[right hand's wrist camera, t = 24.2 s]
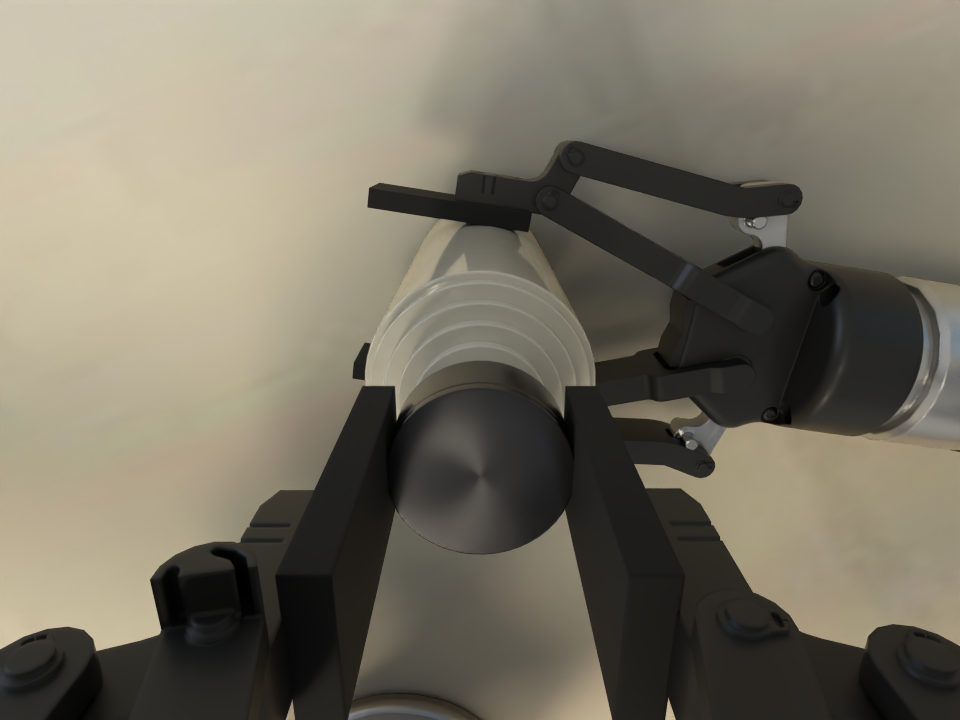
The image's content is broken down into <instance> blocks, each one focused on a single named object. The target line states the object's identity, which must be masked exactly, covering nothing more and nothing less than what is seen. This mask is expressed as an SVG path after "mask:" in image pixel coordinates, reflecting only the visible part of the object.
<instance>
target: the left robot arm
mask: <svg viewBox="0 0 960 720" xmlns="http://www.w3.org/2000/svg"><path fill="white" fill-rule="evenodd" d="M580 176H583V177H587V178H590V179H594V180H598V181H601V182H605V183H609V184H612V185H616V186H619V187H623V188H627V189H630V190H634V191H638V192H641V193H645V194H648V195H652V196H656V197H659V198H663V199H667V200H670V201H674V202H677V203H681V204H685V205H688V206H692V207H696V208H699V209H703V210H706V211H710V212H714V213H717V214H721V215H725V216H730V223H731V225H732V227H733V228H734V229H736V230H738V231H740V232H743V233H746V234H750V236H751V237H752V239H753V243H754V245H752V246H750V247H748V248H746V249H744V250H742V251H740V252H738V253H736V254H734V255H732V256H729V257H727V258H725V259H723V260H721V261H719V262H717V263H715V264H713V265H711V266H709V267H707V268H704V269H701V268H699V267H697V266H695V265H694V264H692V263H690V262H688V261H687V260H685V259H683V258H681V257H680V256H678V255H676V254H674V253H673V252H671V251H669V250H667V249H665V248H664V247H662V246H660V245H658V244H657V243H655V242H653V241H651V240H650V239H648V238H646V237H644V236H643V235H641V234H639V233H637V232H636V231H634V230H632V229H630V228H629V227H627V226H625V225H623V224H622V223H620V222H618V221H616V220H615V219H613V218H611V217H609V216H608V215H606V214H604V213H602V212H601V211H599V210H597V209H595V208H594V207H592V206H590V205H588V204H587V203H585V202H583V201H581V200H580V199H578V198H576V197H574V196H573V195H571V194H570V193H571V191H572V190H573V188H574V186H575V184H576V183H577V181H578V179H579V177H580ZM801 202H802V192H801V190H800V188H799V187H797V186H796V185H793V184H787V183H782V182H776V181H769V180H754V181H744V182H734V183H725V182H722V181H718V180H715V179H711V178H708V177H704V176H701V175H697V174H693V173H690V172H686V171H683V170H679V169H676V168H672V167H669V166H665V165H661V164H658V163H654V162H651V161H647V160H644V159H640V158H636V157H633V156H629V155H626V154H622V153H619V152H615V151H612V150H608V149H604V148H601V147H597V146H594V145H590V144H587V143H583V142H577V141H564V142H561V143H560V144H559V145H558V146H557V147H556V149H555V151H554V155H553V157H552V158H551V160H550V162H549V164H548V165H547V167H546V169H545V170H544V172H543V173H542V174H541V175H540V176H538V177H536V178H533V179H522V178H516V177H510V176H504V175H497V174H491V173H485V172H479V171H472V170H471V171H467V172H463V173H459V175H458V179H457V187H456V194H455V195H454V194H447V193H441V192H435V191H428V190H422V189H416V188H409V187H403V186H397V185H390V184H384V183H378V184H376V185H374V186H372V187H370V188H369V196H368V208H375V209H381V210H388V211H394V212H400V213H407V214H413V215H420V216H426V217H433V218H439V219H445V220H452V221H458V222H465V223H471V224H478V225H484V226H492V227H497V228H503V229H510V230H516V231H523V232H529V226H530V221H531V215H532V213H535V214H541V215H543V216H545V217H547V218H549V219H550V220H552V221H554V222H556V223H558V224H559V225H561V226H563V227H565V228H566V229H568V230H570V231H572V232H574V233H575V234H577V235H579V236H581V237H582V238H584V239H586V240H588V241H590V242H591V243H593V244H595V245H597V246H599V247H600V248H602V249H604V250H606V251H607V252H609V253H611V254H613V255H615V256H616V257H618V258H620V259H622V260H624V261H625V262H627V263H629V264H631V265H632V266H634V267H636V268H638V269H640V270H641V271H643V272H645V273H647V274H648V275H650V276H652V277H654V278H656V279H657V280H659V281H661V282H663V283H665V284H666V285H668V286H670V287H671V288H673V289H674V290H673V294H672V297H671V301H670V321H669V323H668V325H667V327H666V328H665V330H664V332H663V334H662V336H661V338H660V342H659V346H658V348H653V349H647V350H642V351H639V352H637V353H636V354H635V355H633V356H630V357H624V358H619V359H613V360H608V361H602V362H597V363H595V370H596V385H595V386H598V388H599V390H600V392H601V394H602V396H603V398H604V400H605V403H606V405H607V406H611V405H617V404H623V403H628V402H634V401H640V400H646V399H651V400H654V401H660V402H662V401H669V400H675V399H681V398H686V397H689V398H690V399H691V400H692V401H693V402H694V403H695V404H696V405H697V406H698V407H699V408H700V409H701V410H702V412H701V414H700V415H698V416H697V417H695V418H692V419H686V418H678V417H677V418H674V419H672V421H671V424H668V423H665V422H662V421H657V420H650V419H635V418H613V420H614V422H615V424H616V426H617V429H618V431H619V433H620V435H621V437H622V439H623V442H624V444H625V446H626V448H627V450H628V452H629V454H630V457H631V459H632V461H633V463H634V464H650V465H665V466H668V467H671V468H673V469H676V470H678V471H681V472H684V473H686V474H689V475H691V476H694V477H698V478H704V477H707V476H709V475H710V474H711V473H712V472H713V471H714V468H715V462H714V461H713V459H712V457H711V456H710V453H711V452H712V450H713V448H714V447H715V445H716V444H717V442H718V440H719V439H720V437H721V436H722V434H723V432H724V431H725V429H726V428H734V427H738V426H741V425H744V424H748V423H753V422H764V423H769V424H773V425H777V426H782V427H788V428H795V429H802V430H809V431H817V432H824V433H831V434H838V435H845V436H863V437H865V438H868V439H870V440H878V441H886V442H893V443H901V444H909V445H916V446H924V447H932V448H940V449H947V450H952V451H958V452H960V285H954V284H948V283H942V282H936V281H930V280H924V279H918V278H911V277H905V276H900V277H894V276H892V275H889V274H887V273H882V272H877V271H870V270H864V269H857V268H851V267H844V266H838V265H832V264H825V263H819V262H812V261H806V260H803V259H801V258H800V257H799V256H798V255H797V254H796V253H794V252H793V251H792V250H790V249H788V248H786V239H787V227H788V214H791V213H793V212H794V211H796V210H797V209H798V208H799V206H800V205H801ZM370 345H371V344H370V343H364V345H363V347H362V349H361V351H360V352H359V354H358V356H357V358H356V360H355V362H354V368H353V379H360V380H365V368H366V361H367V355H368V352H369V348H370ZM348 720H478V719H477V718H476V717H474V716H473V715H471V714H470V713H468V712H466V711H465V710H463V709H461V708H459V707H457V706H455V705H453V704H450V703H448V702H445V701H442V700H439V699H435V698H431V697H427V696H421V695H414V694H382V695H375V696H370V697H365V698H361V699H358V700H355V701H352V704H351V708H350V713H349V717H348Z"/></svg>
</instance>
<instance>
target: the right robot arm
mask: <svg viewBox="0 0 960 720" xmlns="http://www.w3.org/2000/svg"><path fill="white" fill-rule="evenodd" d="M396 422H397V415H396V395H395V386H362V388H361V391H360V393H359V395H358V397H357V399H356V401H355V403H354V406H353V408H352V410H351V412H350V414H349V416H348V419H347V421H346V423H345V425H344V427H343V429H342V432H341V434H340V436H339V438H338V440H337V442H336V445H335V447H334V449H333V451H332V453H331V455H330V458H329V460H328V462H327V464H326V466H325V468H324V470H323V473H322V475H321V477H320V479H319V481H318V483H317V486H316V488H315V490H280V491H279V492H278V493H276V494H275V495H274V496H272V497H271V498H270V499H268V500H267V501H266V502H265V503H263V504H262V505H261V506H260V507H259V509H258V511H257V512H256V514H255V516H254V517H253V519H252V521H251V522H250V527H248V528H247V529H246V531H245V533H244V534H243V536H242V538H241V542H240V543H235V542H212V543H207V544H203V545H199V546H194V547H192V548H190V549H188V550H185V551H183V552H181V553H178V554H176V555H175V556H173V557H172V558H170V559H169V560H168V561H166V562H165V563H164V564H162V565H161V566H160V567H159V568H158V569H157V571H156V572H155V574H154V575H153V576H152V578H151V579H150V582H151V586H152V591H153V595H154V599H155V604H156V608H157V612H158V617H159V621H160V626H161V633H160V634H159V635H157V636H154V637H151V638H148V639H145V640H141V641H138V642H133V643H129V644H125V645H121V646H116V647H112V648H108V649H104V650H100V651H96V648H95V645H94V641H93V638H91V637H90V636H89V635H88V634H87V633H86V632H85V631H84V630H81V629H76V628H71V627H62V628H52V629H46V630H43V631H40V632H37V633H34V634H31V635H28V636H25V637H23V638H21V639H19V640H17V641H15V642H13V643H11V644H10V645H8V646H6V647H4V648H2V649H1V650H0V720H286V717H287V714H288V711H289V708H290V705H291V702H292V699H293V706H294V713H295V720H348V717H349V713H350V708H351V704H352V700H353V695H354V691H355V686H356V682H357V677H358V673H359V668H360V664H361V659H362V655H363V651H364V646H365V642H366V637H367V633H368V628H369V624H370V619H371V615H372V610H373V606H374V602H375V597H376V593H377V588H378V584H379V579H380V575H381V570H382V566H383V562H384V557H385V553H386V548H387V544H388V539H389V535H390V530H391V526H392V521H393V517H394V513H395V506H394V504H393V502H392V500H391V498H390V495H389V492H388V479H387V454H388V450H389V446H390V443H391V439H392V436H393V433H394V429H395V426H396ZM564 422H565V426H566V429H567V432H568V436H569V439H570V443H571V446H572V449H573V454H574V469H573V486H572V495H571V497H570V500H569V502H568V504H567V506H566V508H565V511H566V515H567V520H568V524H569V529H570V533H571V538H572V542H573V546H574V551H575V555H576V560H577V564H578V569H579V573H580V578H581V582H582V587H583V591H584V595H585V600H586V604H587V609H588V613H589V618H590V622H591V627H592V631H593V635H594V640H595V644H596V649H597V653H598V658H599V662H600V667H601V671H602V676H603V680H604V684H605V689H606V693H607V698H608V702H609V707H610V711H611V716H612V720H665V716H666V709H667V702H668V698H669V701H670V704H671V707H672V710H673V713H674V716H675V719H676V720H960V646H958V645H957V644H955V643H953V642H951V641H949V640H947V639H945V638H944V637H942V636H940V635H938V634H935V633H932V632H929V631H926V630H923V629H920V628H917V627H914V626H904V625H895V624H892V625H887V626H883V627H878V628H876V629H875V630H874V631H873V632H872V633H871V634H870V635H869V636H868V639H867V643H866V646H865V649H863V648H859V647H855V646H850V645H846V644H842V643H838V642H834V641H829V640H825V639H821V638H818V637H814V636H811V635H808V634H805V633H802V632H800V631H799V629H798V628H797V626H796V624H795V623H794V621H793V620H792V618H791V617H790V615H789V614H788V613H786V612H785V611H784V610H783V609H782V608H780V607H779V606H778V605H777V604H776V603H774V602H772V601H770V600H768V599H766V598H764V597H762V596H760V595H758V594H756V593H753V592H752V590H751V588H750V587H749V585H748V583H747V582H746V580H745V578H744V577H743V575H742V573H741V572H740V570H739V568H738V566H737V565H736V563H735V561H734V560H733V558H732V556H731V555H730V553H729V551H728V550H727V548H726V546H725V545H724V543H723V541H720V536H719V534H718V533H717V531H716V529H715V528H714V526H713V525H711V521H710V519H709V518H708V516H707V514H706V512H705V511H704V509H703V507H702V506H701V504H700V503H699V502H697V501H696V500H695V499H693V498H692V497H691V496H689V495H688V494H687V493H686V492H684V491H683V490H682V489H645V487H644V485H643V483H642V480H641V478H640V476H639V474H638V472H637V470H636V467H635V465H634V463H633V461H632V459H631V457H630V454H629V452H628V450H627V448H626V446H625V444H624V442H623V439H622V437H621V435H620V433H619V431H618V429H617V426H616V424H615V422H614V420H613V418H612V416H611V413H610V411H609V409H608V407H607V405H606V403H605V400H604V398H603V396H602V394H601V392H600V390H599V388H598V386H565V403H564Z"/></svg>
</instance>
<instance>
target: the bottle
mask: <svg viewBox="0 0 960 720" xmlns="http://www.w3.org/2000/svg"><path fill="white" fill-rule="evenodd" d="M468 361H493V362H500V363H503V364H507V365H511V366H513V367H516V368H518V369H520V370H523V371H524V372H526V373H528V374H530V375H531V376H533V377H534V378H535V379H537V380H538V381H539V382H540V383H541V384H542V385H543V386H544V387H545V388H546V389H547V390H548V391H549V392H550V393H551V395H552V396H553V397H554V399H555V401H556V402H557V404H558V406H559V408H560V410H561V413H562V416H563V419H564V403H565V386H595V385H596V370H595V363H594V356H593V353H592V349H591V346H590V343H589V340H588V338H587V336H586V334H585V332H584V329H583V327H582V326H581V324H580V322H579V320H578V318H577V316H576V314H575V312H574V310H573V308H572V307H571V305H570V303H569V301H568V299H567V297H566V295H565V293H564V291H563V289H562V288H561V286H560V284H559V282H558V280H557V278H556V276H555V274H554V272H553V270H552V269H551V267H550V265H549V263H548V261H547V259H546V257H545V255H544V253H543V252H542V250H541V248H540V246H539V244H538V242H537V240H536V238H535V237H534V235H533V233H532V232H531V230H530V229H529V232H523V231H516V230H510V229H503V228H497V227H492V226H484V225H478V224H471V223H465V222H458V221H452V220H445V219H440V220H439V221H438V222H437V223H436V224H435V225H434V226H433V227H432V228H431V230H430V231H429V232H428V234H427V235H426V237H425V239H424V241H423V243H422V245H421V246H420V248H419V250H418V252H417V254H416V256H415V258H414V260H413V262H412V264H411V266H410V267H409V269H408V271H407V273H406V275H405V277H404V279H403V281H402V283H401V285H400V287H399V289H398V290H397V292H396V294H395V296H394V298H393V300H392V302H391V304H390V306H389V308H388V310H387V312H386V313H385V315H384V317H383V319H382V321H381V323H380V325H379V327H378V329H377V331H376V333H375V335H374V337H373V340H372V342H371V345H370V348H369V352H368V355H367V361H366V368H365V386H395V395H396V415H397V419H398V415H399V413H400V410H401V408H402V406H403V404H404V402H405V400H406V399H407V397H408V396H409V394H410V393H411V392H412V391H413V390H414V388H415V387H416V386H417V385H418V384H420V383H421V382H422V381H423V380H424V379H426V378H427V377H428V376H430V375H431V374H433V373H435V372H437V371H439V370H441V369H442V368H445V367H448V366H451V365H453V364H458V363H462V362H468Z"/></svg>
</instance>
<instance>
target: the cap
mask: <svg viewBox="0 0 960 720" xmlns="http://www.w3.org/2000/svg"><path fill="white" fill-rule="evenodd" d="M573 469H574V454H573V449H572V446H571V443H570V439H569V436H568V432H567V429H566V426H565V422H564V419H563V416H562V413H561V410H560V408H559V406H558V404H557V402H556V401H555V399H554V397H553V396H552V395H551V393H550V392H549V391H548V390H547V389H546V388H545V387H544V386H543V385H542V384H541V383H540V382H539V381H538V380H537V379H535V378H534V377H533V376H531V375H530V374H528V373H526V372H524V371H523V370H520V369H518V368H516V367H513V366H511V365H507V364H503V363H500V362H493V361H468V362H462V363H458V364H453V365H451V366H448V367H445V368H442V369H441V370H439V371H437V372H435V373H433V374H431V375H430V376H428V377H427V378H426V379H424V380H423V381H422V382H421V383H420V384H418V385H417V386H416V387H415V388H414V390H413V391H412V392H411V393H410V394H409V396H408V397H407V399H406V400H405V402H404V404H403V406H402V408H401V410H400V413H399V415H398V419H397V422H396V426H395V429H394V433H393V436H392V439H391V443H390V446H389V450H388V454H387V479H388V492H389V495H390V498H391V500H392V502H393V504H394V506H395V508H396V510H397V512H398V513H399V514H400V516H401V517H402V519H403V520H404V521H405V522H406V523H407V524H408V525H409V526H410V528H412V529H413V530H414V531H415V532H416V533H418V534H419V535H420V536H422V537H423V538H425V539H426V540H428V541H430V542H432V543H434V544H436V545H438V546H440V547H443V548H446V549H448V550H452V551H456V552H460V553H467V554H494V553H500V552H505V551H509V550H512V549H515V548H518V547H521V546H523V545H525V544H527V543H529V542H531V541H533V540H534V539H536V538H538V537H539V536H541V535H542V534H543V533H545V532H546V531H547V530H548V529H549V528H550V527H551V526H552V525H553V524H554V523H555V522H556V521H557V520H558V518H559V517H560V516H561V515H562V513H563V511H564V510H565V508H566V506H567V504H568V502H569V500H570V497H571V495H572V486H573Z"/></svg>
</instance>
